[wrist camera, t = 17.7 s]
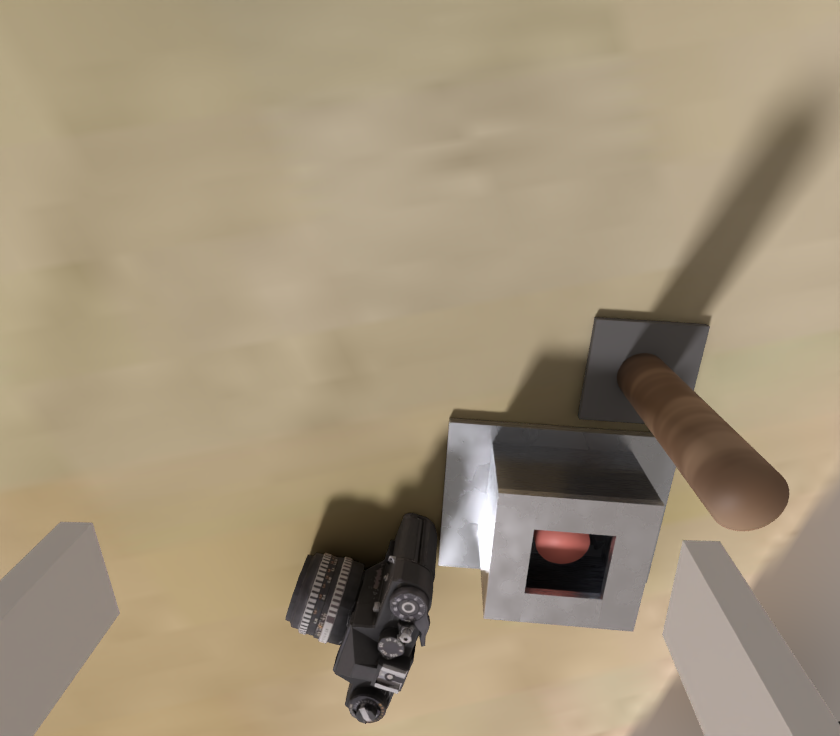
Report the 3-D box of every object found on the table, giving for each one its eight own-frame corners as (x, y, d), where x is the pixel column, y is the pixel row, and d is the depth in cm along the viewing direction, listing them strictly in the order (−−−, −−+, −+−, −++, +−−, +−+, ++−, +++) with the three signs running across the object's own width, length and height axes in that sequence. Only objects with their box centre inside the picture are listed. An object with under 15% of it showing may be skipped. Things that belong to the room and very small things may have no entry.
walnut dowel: (621, 351, 40) (718, 463, 25) (671, 354, 40) (798, 468, 25) (613, 396, 41) (701, 528, 26) (661, 399, 41) (777, 533, 26)
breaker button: (532, 487, 44) (539, 517, 40) (582, 491, 44) (594, 522, 40) (526, 528, 45) (532, 561, 42) (574, 532, 45) (585, 566, 42)
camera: (326, 485, 47) (294, 567, 38) (448, 520, 47) (446, 609, 38) (292, 607, 52) (257, 705, 43) (402, 637, 52) (391, 741, 43)
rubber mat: (594, 317, 40) (596, 319, 39) (706, 324, 40) (709, 326, 39) (577, 415, 43) (579, 419, 42) (681, 423, 43) (684, 426, 42)
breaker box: (449, 417, 44) (448, 470, 36) (678, 434, 43) (724, 490, 36) (438, 559, 49) (435, 629, 41) (643, 576, 48) (677, 650, 41)
